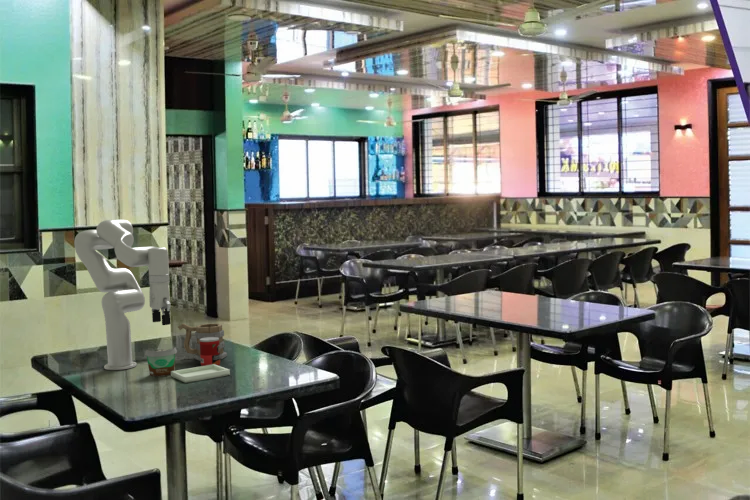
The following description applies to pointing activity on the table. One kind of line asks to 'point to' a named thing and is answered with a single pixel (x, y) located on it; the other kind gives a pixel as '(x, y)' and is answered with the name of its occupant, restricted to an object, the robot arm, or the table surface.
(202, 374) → the tray
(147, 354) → the food container
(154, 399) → the table surface
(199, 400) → the table surface
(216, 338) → the canned food
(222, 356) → the tankard
